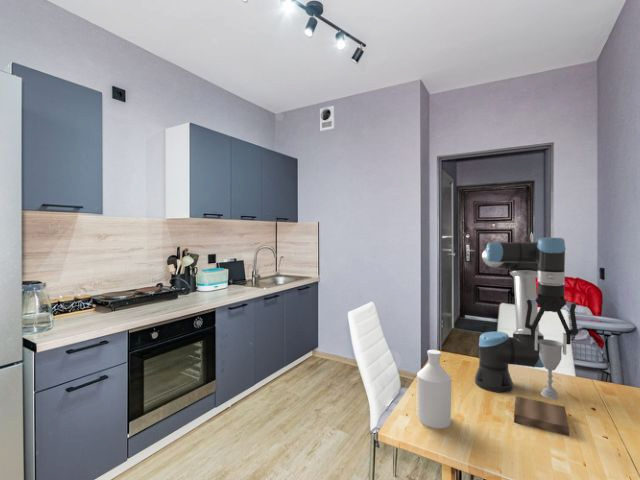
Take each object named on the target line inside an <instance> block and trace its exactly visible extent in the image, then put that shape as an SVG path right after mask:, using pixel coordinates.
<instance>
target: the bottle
mask: <svg viewBox="0 0 640 480" xmlns="http://www.w3.org/2000/svg"><path fill="white" fill-rule="evenodd" d="M441 353H442V352H441V351H440V350H437V349H429V350H427V357H428V363H427V364H426V365H425V366H424V367H423V368H421V369H420V370H419V371H418V372H417V374H416V377H417V378H416V380H417V382H416V383H417V419H418V421H419V422H420V423H421V424H422V425H423V426H427V427H429V428H432V429H439V430H440V429H445V428H448V427H450V425H451V422H452V419H451V418H452V417H451V416H452V376H451V374H449V373H448V372H447V371H446V370H445V368H444V367H443V366H442V365H441V364H440V362H441V361H440V360H441V356H442V355H441Z"/></svg>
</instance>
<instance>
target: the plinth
mask: <svg viewBox="0 0 640 480" xmlns="http://www.w3.org/2000/svg"><path fill="white" fill-rule="evenodd" d="M514 398H515V399H514V411H513V422H514V423H515V424H519V425H523V426H527V427H529V428H530V427H532V428H535V429H539V430H543V431H547V432H551V433H555V434H559V435H562V436H563V435H564V436H567V437H569V436H570V424H569V421H568V415H567V410H566V406H564V405H559V404H554V403H550V402H546V401H541V400H537V399H532V398H526V397H522V396H517V395H516V396H515V397H514Z"/></svg>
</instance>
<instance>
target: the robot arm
mask: <svg viewBox="0 0 640 480" xmlns="http://www.w3.org/2000/svg"><path fill="white" fill-rule="evenodd" d="M565 243H566V241H565V239H564V238H563V237H540V238H538V240H537V241H536V242H535V241H531V242H529V241H527V242H526V241H524V242H522V241H520V242H519V241H518V242H510V241H509V242H508V241H507V242H505V241H500V242H499V241H493V242H488V243H487V245H486V248H485V249H484V250H483V252H482V253H481V260H482V262H483V263H484V264H485V265H486V266H488V267H489V268H493V269H498V270H507V271H508V270H509V274H510V275H511V277H513V291H514V307H515V308H514V310H515V327H516V329H515V331H514V332H513V333H512V337H511V336H509V334H508V333H506V332H502V331H485V332H483V333H482V334H480V336H479V341H478V342H479V343H478V347H479V348H478V349H479V352H478V354H479V355H478V357H479V358H478V359H479V360H478V361H479V362H478V369H477V370H476V373H475V377H474V383H475V385H476V386H477V387H479V388H481V389H483V390H486V391H490V392H494V393H508V392H512V391H513V389H514V386H513V385H514V383H513V380H512V377H511V374H510V371H509V365H513V366H521V367H528V368H529V367H530V368H538V369H539V368H541V369H543V368H545V367H544V365H543V363H542V361H541V359H540V356H539V343H538V340H541V339H544V338H545V337H544V336H545V335H544V334H542V332H541V331H540V325H539V324H540V321H541V318H542V317H543V315H544V313H545V312H546V313H547V312H552V313H556V314H557V316H558V318H559V320H560V322H561V325H562V326H563V329H564V331H565V332H562V343H563V346H562V354H563V355H564V356H567V345H569V346H570V345H571V343H572V342H571V341H572V338H571V337H572V335H578V333H579V332H578V324H577V319H576V318H577V317H576V308H577V304H576V303H575V302H570V301H567V300H566V299H565V289H566V288H565V285H564V284H565V282H566V281H565V279H566V278H565V268H566V267H565V265H566V264H565V262H566V244H565ZM536 277H537V279H536ZM536 280H537V282H538V283H536ZM538 306H539V309H538ZM565 306H566V307H567V309H569V317H570V323H571V329H570V328H569V325H568V324H567V321H566V320H565V317H564V315H563V312H562V310H561V309H563V308H564V307H565Z"/></svg>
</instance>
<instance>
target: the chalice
mask: <svg viewBox="0 0 640 480" xmlns="http://www.w3.org/2000/svg"><path fill="white" fill-rule="evenodd" d="M538 343H539V356H540V359H541V361H542V363H543V365H544V367H543V368H544V369H545V370H547V374H546V376H547V379H546V382H547V386H544V387H543V389H542V390H541V392H540V394H541V396H543V397H544V398H547V399H552V400H557V399H560V398H559V395H558V392H557V390H556V389H555V388H554V387H553V386H552V384H553V382H554V381H553V379H552V378H553V377H554V375H553V374H552V372H553V371H556V369H557V368H558V366H559V365H560V362H561V360H562V351H563V342H561V341H557V340H554V339H553V340H552V339H541V340H538Z"/></svg>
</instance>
